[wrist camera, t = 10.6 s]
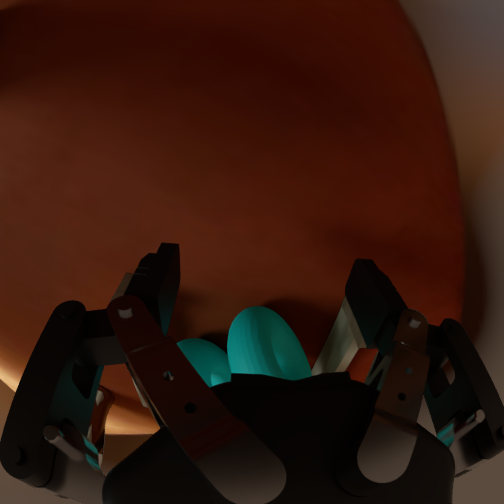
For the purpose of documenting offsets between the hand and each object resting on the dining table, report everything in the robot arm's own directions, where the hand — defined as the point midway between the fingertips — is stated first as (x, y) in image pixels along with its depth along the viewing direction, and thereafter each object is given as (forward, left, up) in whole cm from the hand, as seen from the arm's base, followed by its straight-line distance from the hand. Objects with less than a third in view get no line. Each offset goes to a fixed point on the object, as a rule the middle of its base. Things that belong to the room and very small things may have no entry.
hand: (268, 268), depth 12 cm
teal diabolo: (+13, 0, -8) cm, 15 cm away
